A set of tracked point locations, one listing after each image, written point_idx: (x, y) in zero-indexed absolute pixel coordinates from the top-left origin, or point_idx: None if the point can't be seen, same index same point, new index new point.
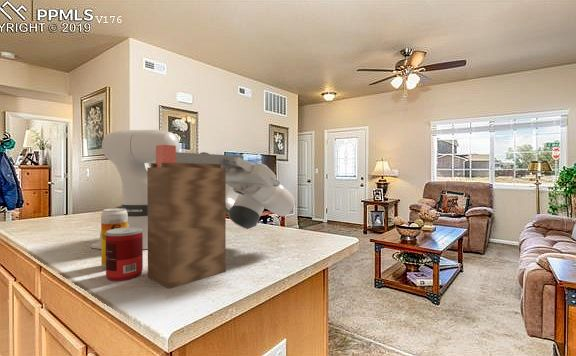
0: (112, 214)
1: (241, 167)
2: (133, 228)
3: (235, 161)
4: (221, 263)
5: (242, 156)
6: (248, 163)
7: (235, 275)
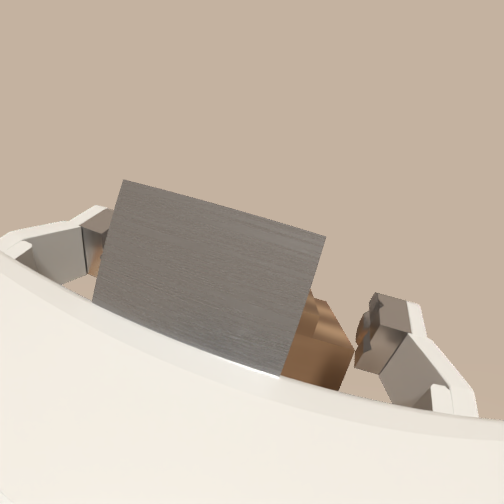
0: None
1: (70, 279)
2: None
3: None
4: None
5: (129, 191)
6: (26, 236)
7: None
